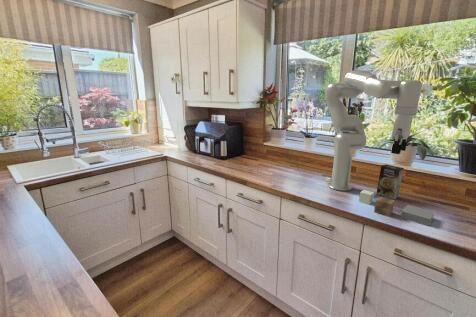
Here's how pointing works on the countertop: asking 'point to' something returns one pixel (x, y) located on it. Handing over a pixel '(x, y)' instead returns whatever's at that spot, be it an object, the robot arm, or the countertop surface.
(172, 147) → the countertop surface
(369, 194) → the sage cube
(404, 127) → the robot arm
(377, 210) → the walnut block
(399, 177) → the coffee box
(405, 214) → the plinth
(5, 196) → the countertop surface
